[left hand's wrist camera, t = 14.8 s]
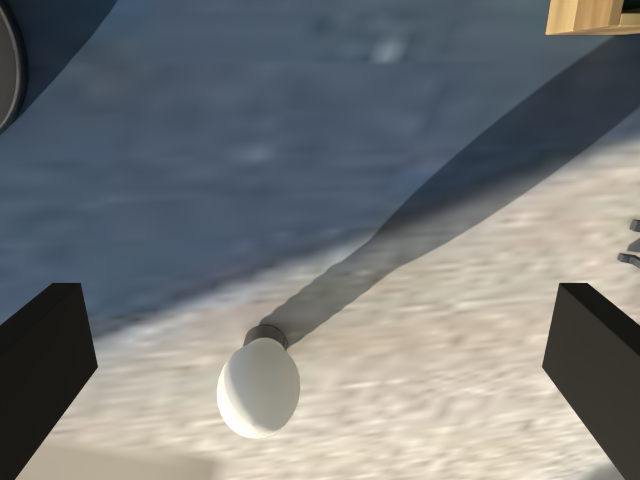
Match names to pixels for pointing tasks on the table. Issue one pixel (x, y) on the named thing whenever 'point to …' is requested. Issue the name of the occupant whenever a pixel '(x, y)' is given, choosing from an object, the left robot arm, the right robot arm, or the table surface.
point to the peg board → (591, 18)
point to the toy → (632, 259)
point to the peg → (631, 4)
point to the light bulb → (259, 385)
